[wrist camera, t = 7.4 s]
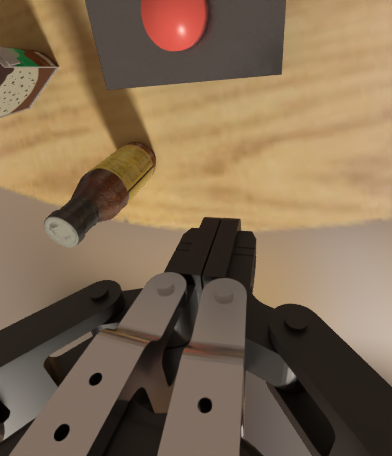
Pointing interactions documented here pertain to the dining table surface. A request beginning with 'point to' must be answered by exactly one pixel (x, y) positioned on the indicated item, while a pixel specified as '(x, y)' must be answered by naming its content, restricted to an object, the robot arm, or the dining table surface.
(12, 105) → the food container
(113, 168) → the sauce bottle
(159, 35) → the red button
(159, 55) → the console
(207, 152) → the dining table surface
